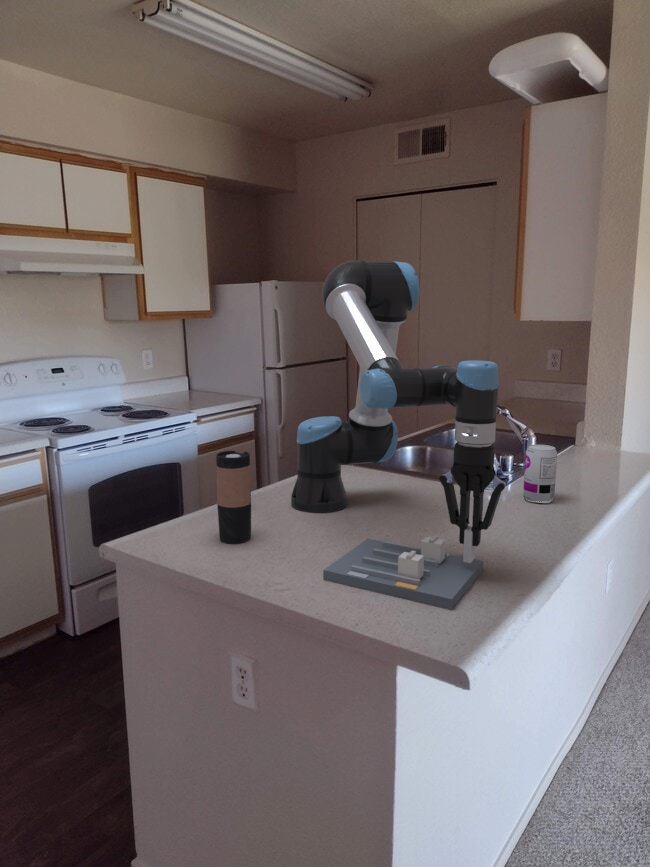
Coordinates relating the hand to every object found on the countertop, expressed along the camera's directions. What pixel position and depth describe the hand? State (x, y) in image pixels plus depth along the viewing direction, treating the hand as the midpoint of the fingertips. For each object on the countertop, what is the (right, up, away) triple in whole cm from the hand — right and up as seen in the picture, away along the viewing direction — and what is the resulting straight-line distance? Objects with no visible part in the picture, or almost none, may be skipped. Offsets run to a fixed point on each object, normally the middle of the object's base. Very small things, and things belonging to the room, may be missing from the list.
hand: (468, 559), depth 127 cm
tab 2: (-6, -1, +4) cm, 8 cm away
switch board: (-12, -3, +2) cm, 13 cm away
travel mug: (-49, 0, +22) cm, 54 cm away
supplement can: (+31, +6, +51) cm, 60 cm away
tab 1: (-12, -2, -4) cm, 13 cm away
